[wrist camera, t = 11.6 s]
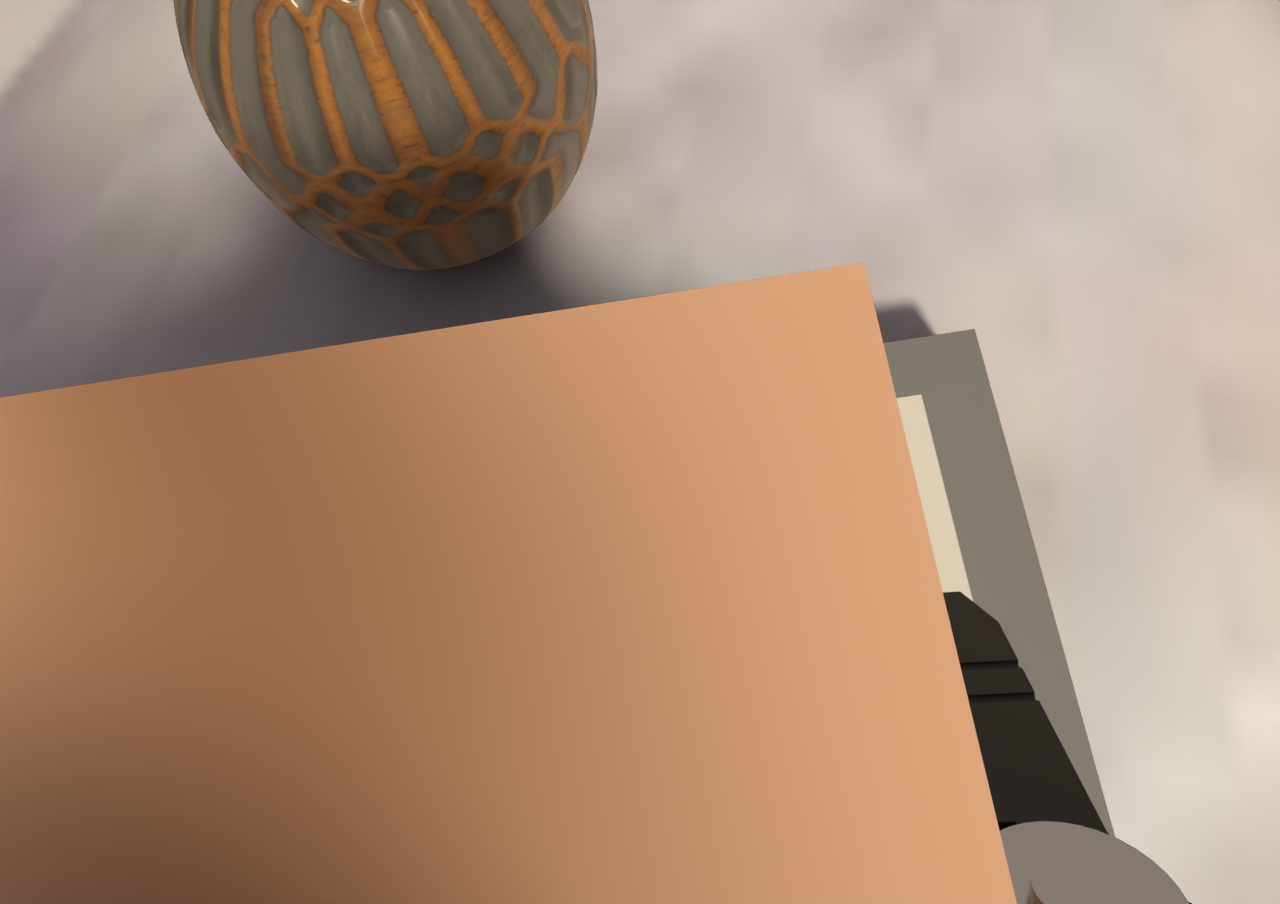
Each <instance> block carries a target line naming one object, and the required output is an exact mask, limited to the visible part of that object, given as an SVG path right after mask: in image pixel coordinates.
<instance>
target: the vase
mask: <svg viewBox="0 0 1280 904" xmlns="http://www.w3.org/2000/svg"><path fill="white" fill-rule="evenodd" d="M174 9H175V16H176V23H177V28H178V33H179V37H180V42H181V46H182V49H183V53H184V57H185V60H186V63H187V66H188V70H189V73H190V76H191V78H192V81H193V84H194V86H195V89H196V91H197V94H198V97H199V99H200V102H201V104H202V106H203V108H204V110H205V112H206V114H207V116H208V118H209V120H210V122H211V124H212V126H213V128H214V130H215V132H216V133H217V135H218V136H219V138H220V140H221V141H222V143H223V144H224V146H225V147H226V148H227V150H228V151H229V153H230V154H231V156H232V157H233V159H234V160H235V161H236V162H237V164H238V165H239V166H240V168H241V169H242V170H243V171H244V172H245V174H246V175H247V176H248V177H249V178H250V180H251V181H252V182H253V183H254V184H255V186H256V187H257V188H258V189H259V190H260V191H261V192H262V193H263V194H264V195H265V196H266V197H267V198H268V199H269V200H270V201H271V202H272V203H273V204H274V205H275V206H276V207H277V208H278V209H279V210H280V211H281V212H282V213H283V214H285V215H286V216H287V217H288V218H289V219H291V220H292V221H294V222H295V223H296V224H298V225H299V226H301V227H302V228H303V229H305V230H306V231H308V232H309V233H310V234H312V235H313V236H315V237H317V238H318V239H320V240H322V241H323V242H325V243H327V244H329V245H331V246H333V247H335V248H337V249H339V250H341V251H343V252H345V253H347V254H349V255H352V256H355V257H357V258H360V259H363V260H366V261H370V262H373V263H377V264H380V265H384V266H388V267H393V268H400V269H408V270H435V269H445V268H451V267H456V266H461V265H465V264H469V263H472V262H475V261H478V260H481V259H484V258H486V257H489V256H491V255H493V254H495V253H498V252H500V251H502V250H504V249H505V248H507V247H509V246H511V245H512V244H514V243H516V242H517V241H519V240H520V239H522V238H523V237H524V236H526V235H527V234H529V233H530V232H531V231H532V230H533V229H535V228H536V227H537V226H538V225H539V224H540V223H541V222H542V221H543V220H544V219H545V218H546V217H547V216H548V215H549V214H550V213H551V212H552V211H553V210H554V208H555V207H556V206H557V204H558V203H559V202H560V200H561V199H562V197H563V196H564V194H565V193H566V191H567V189H568V188H569V186H570V184H571V182H572V180H573V178H574V176H575V174H576V172H577V171H578V168H579V166H580V164H581V161H582V159H583V156H584V153H585V150H586V147H587V143H588V140H589V136H590V133H591V128H592V124H593V119H594V112H595V104H596V97H597V83H598V80H597V57H596V45H595V37H594V30H593V22H592V16H591V12H590V7H589V3H588V0H174Z"/></svg>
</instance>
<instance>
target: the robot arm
mask: <svg viewBox="0 0 1280 904" xmlns="http://www.w3.org/2000/svg"><path fill="white" fill-rule="evenodd" d="M943 596H944V600H945V604H946V608H947V612H948V617H949V621H950V625H951V629H952V633H953V638H954V642H955V646H956V650H957V654H958V659H959V663H960V667H961V671H962V675H963V680H964V684H965V688H966V692H967V696H968V700H969V705H970V709H971V713H972V717H973V721H974V726H975V730H976V734H977V738H978V742H979V747H980V751H981V755H982V759H983V763H984V768H985V772H986V776H987V780H988V784H989V789H990V793H991V797H992V801H993V805H994V810H995V814H996V818H997V822H998V826H999V831H1000V835H1001V839H1002V843H1003V847H1004V851H1005V856H1006V860H1007V864H1008V868H1009V872H1010V877H1011V881H1012V885H1013V889H1014V893H1015V898H1016V902H1017V904H1192V903H1190V902H1188V901H1187V899H1186V898H1185V896H1184V895H1183V893H1182V892H1181V890H1180V888H1179V887H1178V886H1177V885H1176V884H1175V882H1174V881H1173V880H1172V879H1171V878H1170V877H1169V876H1168V874H1167V873H1166V872H1165V871H1164V870H1162V869H1161V868H1160V867H1159V866H1158V865H1157V864H1156V863H1155V862H1153V861H1152V860H1151V859H1150V858H1148V857H1147V856H1145V855H1144V854H1143V853H1141V852H1140V851H1138V850H1137V849H1135V848H1134V847H1132V846H1130V845H1128V844H1126V843H1125V842H1123V841H1121V840H1119V839H1117V838H1115V837H1113V836H1110V835H1109V833H1108V832H1107V830H1106V829H1105V827H1104V825H1103V823H1102V821H1101V819H1100V817H1099V815H1098V813H1097V811H1096V809H1095V807H1094V806H1093V804H1092V802H1091V800H1090V798H1089V796H1088V794H1087V792H1086V790H1085V788H1084V786H1083V784H1082V782H1081V780H1080V778H1079V777H1078V775H1077V773H1076V771H1075V769H1074V767H1073V765H1072V763H1071V761H1070V759H1069V757H1068V755H1067V753H1066V751H1065V749H1064V748H1063V746H1062V744H1061V742H1060V740H1059V738H1058V736H1057V734H1056V732H1055V730H1054V728H1053V726H1052V724H1051V722H1050V720H1049V719H1048V717H1047V715H1046V713H1045V711H1044V709H1043V707H1042V705H1041V703H1040V701H1039V700H1036V699H1035V691H1034V690H1033V688H1032V686H1031V684H1030V682H1029V680H1028V678H1027V676H1026V674H1025V672H1024V670H1023V668H1022V667H1021V668H1019V665H1018V659H1017V657H1016V655H1015V653H1014V651H1013V649H1012V647H1011V645H1010V643H1009V641H1008V639H1007V637H1006V635H1005V633H1004V632H1003V630H1002V628H1001V626H1000V624H999V622H998V621H997V620H995V619H994V618H993V617H992V616H990V615H989V614H988V613H987V612H985V611H984V610H983V609H982V608H980V607H979V606H978V605H977V604H975V603H974V602H973V601H972V600H970V599H969V598H968V597H967V596H965V595H964V594H963V593H962V592H960V591H959V592H943Z"/></svg>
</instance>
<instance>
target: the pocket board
mask: <svg viewBox="0 0 1280 904" xmlns="http://www.w3.org/2000/svg"><path fill="white" fill-rule="evenodd" d="M883 344H884V348H885V352H886V357H887V361H888V365H889V369H890V373H891V378H892V382H893V386H894V390H895V394H896V399H897V403H898V407H899V411H900V415H901V419H902V424H903V428H904V432H905V436H906V440H907V445H908V449H909V453H910V457H911V461H912V466H913V470H914V474H915V478H916V482H917V487H918V491H919V495H920V499H921V503H922V508H923V512H924V516H925V520H926V524H927V529H928V533H929V537H930V541H931V545H932V550H933V554H934V558H935V562H936V566H937V570H938V575H939V579H940V583H941V587H942V591H943V592H959V591H960V592H962V593H963V594H964V595H965V596H967V597H968V598H969V599H970V600H972V601H973V602H974V603H975V604H977V605H978V606H979V607H980V608H982V609H983V610H984V611H985V612H987V613H988V614H989V615H990V616H992V617H993V618H994V619H995V620H997V621H998V622H999V624H1000V626H1001V628H1002V630H1003V632H1004V633H1005V635H1006V637H1007V639H1008V641H1009V643H1010V645H1011V647H1012V649H1013V651H1014V653H1015V655H1016V657H1017V659H1018V665H1019V668H1021V667H1022V668H1023V670H1024V672H1025V674H1026V676H1027V678H1028V680H1029V682H1030V684H1031V686H1032V688H1033V690H1034V691H1035V699H1036V700H1039V701H1040V703H1041V705H1042V707H1043V709H1044V711H1045V713H1046V715H1047V717H1048V719H1049V720H1050V722H1051V724H1052V726H1053V728H1054V730H1055V732H1056V734H1057V736H1058V738H1059V740H1060V742H1061V744H1062V746H1063V748H1064V749H1065V751H1066V753H1067V755H1068V757H1069V759H1070V761H1071V763H1072V765H1073V767H1074V769H1075V771H1076V773H1077V775H1078V777H1079V778H1080V780H1081V782H1082V784H1083V786H1084V788H1085V790H1086V792H1087V794H1088V796H1089V798H1090V800H1091V802H1092V804H1093V806H1094V807H1095V809H1096V811H1097V813H1098V815H1099V817H1100V819H1101V821H1102V823H1103V825H1104V827H1105V829H1106V830H1107V832H1108V833H1109V835H1110V836H1113V837H1115V835H1114V831H1113V828H1112V824H1111V821H1110V817H1109V813H1108V810H1107V806H1106V803H1105V799H1104V795H1103V792H1102V788H1101V784H1100V781H1099V777H1098V774H1097V770H1096V766H1095V763H1094V759H1093V756H1092V752H1091V748H1090V745H1089V741H1088V738H1087V734H1086V730H1085V727H1084V723H1083V719H1082V716H1081V712H1080V709H1079V705H1078V701H1077V698H1076V694H1075V691H1074V687H1073V683H1072V680H1071V676H1070V672H1069V669H1068V665H1067V662H1066V658H1065V654H1064V651H1063V647H1062V644H1061V640H1060V636H1059V633H1058V629H1057V625H1056V622H1055V618H1054V615H1053V611H1052V607H1051V604H1050V600H1049V597H1048V593H1047V589H1046V586H1045V582H1044V578H1043V575H1042V571H1041V568H1040V564H1039V560H1038V557H1037V553H1036V550H1035V546H1034V542H1033V539H1032V535H1031V532H1030V528H1029V524H1028V521H1027V517H1026V513H1025V510H1024V506H1023V503H1022V499H1021V495H1020V492H1019V488H1018V485H1017V481H1016V477H1015V474H1014V470H1013V466H1012V463H1011V459H1010V456H1009V452H1008V448H1007V445H1006V441H1005V438H1004V434H1003V430H1002V427H1001V423H1000V419H999V416H998V412H997V409H996V405H995V401H994V398H993V394H992V391H991V387H990V383H989V380H988V376H987V372H986V369H985V365H984V362H983V358H982V354H981V351H980V347H979V344H978V340H977V336H976V333H975V329H972V330H965V331H959V332H952V333H946V334H939V335H933V336H926V337H920V338H913V339H907V340H900V341H894V342H887V343H883Z"/></svg>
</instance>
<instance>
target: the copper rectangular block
mask: <svg viewBox="0 0 1280 904" xmlns="http://www.w3.org/2000/svg"><path fill="white" fill-rule="evenodd" d="M0 904H1017V902H1016V898H1015V893H1014V889H1013V885H1012V881H1011V877H1010V872H1009V868H1008V864H1007V860H1006V856H1005V851H1004V847H1003V843H1002V839H1001V835H1000V831H999V826H998V822H997V818H996V814H995V810H994V805H993V801H992V797H991V793H990V789H989V784H988V780H987V776H986V772H985V768H984V763H983V759H982V755H981V751H980V747H979V742H978V738H977V734H976V730H975V726H974V721H973V717H972V713H971V709H970V705H969V700H968V696H967V692H966V688H965V684H964V680H963V675H962V671H961V667H960V663H959V659H958V654H957V650H956V646H955V642H954V638H953V633H952V629H951V625H950V621H949V617H948V612H947V608H946V604H945V600H944V596H943V591H942V587H941V583H940V579H939V575H938V570H937V566H936V562H935V558H934V554H933V550H932V545H931V541H930V537H929V533H928V529H927V524H926V520H925V516H924V512H923V508H922V503H921V499H920V495H919V491H918V487H917V482H916V478H915V474H914V470H913V466H912V461H911V457H910V453H909V449H908V445H907V440H906V436H905V432H904V428H903V424H902V419H901V415H900V411H899V407H898V403H897V399H896V394H895V390H894V386H893V382H892V378H891V373H890V369H889V365H888V361H887V357H886V352H885V348H884V344H883V340H882V336H881V331H880V327H879V323H878V319H877V315H876V310H875V306H874V302H873V298H872V294H871V289H870V285H869V281H868V277H867V273H866V269H865V264H864V263H858V264H852V265H846V266H839V267H833V268H826V269H820V270H814V271H807V272H801V273H794V274H788V275H782V276H775V277H769V278H762V279H756V280H750V281H743V282H737V283H730V284H724V285H718V286H711V287H705V288H698V289H692V290H686V291H679V292H673V293H666V294H660V295H654V296H647V297H641V298H634V299H628V300H622V301H615V302H609V303H602V304H596V305H590V306H583V307H577V308H570V309H564V310H558V311H551V312H545V313H538V314H532V315H526V316H519V317H513V318H506V319H500V320H494V321H487V322H481V323H474V324H468V325H462V326H455V327H449V328H442V329H436V330H430V331H423V332H417V333H410V334H404V335H398V336H391V337H385V338H378V339H372V340H366V341H359V342H353V343H346V344H340V345H334V346H327V347H321V348H314V349H308V350H302V351H295V352H289V353H282V354H276V355H270V356H263V357H257V358H250V359H244V360H238V361H231V362H225V363H218V364H212V365H206V366H199V367H193V368H186V369H180V370H174V371H167V372H161V373H154V374H148V375H142V376H135V377H129V378H122V379H116V380H110V381H103V382H97V383H90V384H84V385H78V386H71V387H65V388H58V389H52V390H46V391H39V392H33V393H26V394H20V395H14V396H7V397H1V398H0Z"/></svg>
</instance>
